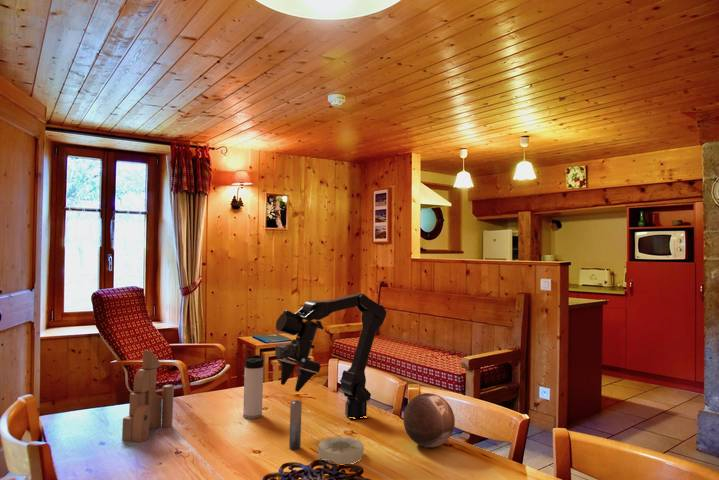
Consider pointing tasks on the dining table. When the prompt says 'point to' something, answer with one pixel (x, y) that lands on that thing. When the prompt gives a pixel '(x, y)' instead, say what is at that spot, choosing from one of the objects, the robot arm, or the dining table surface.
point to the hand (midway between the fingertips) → (289, 388)
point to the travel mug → (253, 387)
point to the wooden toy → (147, 403)
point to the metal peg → (295, 425)
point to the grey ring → (341, 450)
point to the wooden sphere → (429, 420)
